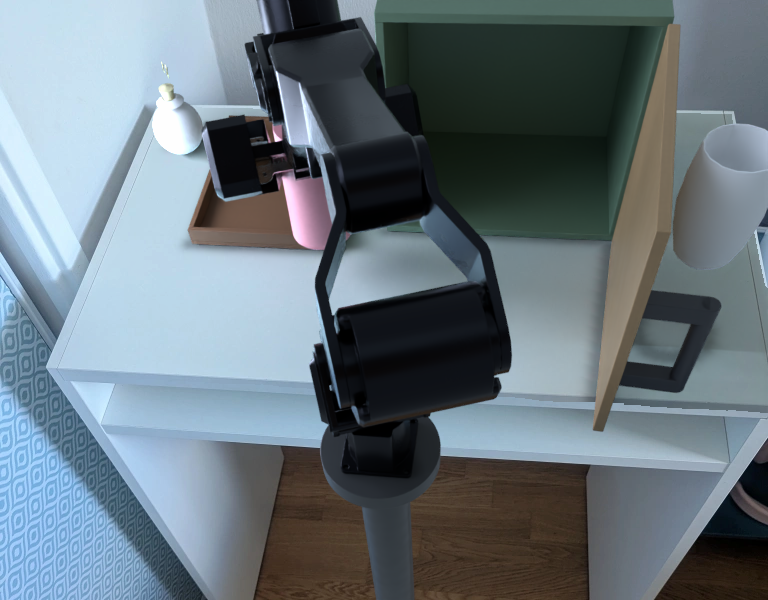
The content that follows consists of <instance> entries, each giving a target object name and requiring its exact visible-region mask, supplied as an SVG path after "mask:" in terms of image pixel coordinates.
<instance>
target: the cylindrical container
mask: <svg viewBox="0 0 768 600" xmlns="http://www.w3.org/2000/svg"><path fill="white" fill-rule="evenodd" d="M273 133H274V138H275V142H277V141H282V125H278V126H273ZM283 158H284V159H285V161H287V157H286V156H284V157H279V159H280V161H281V162H282V160H283ZM282 176H283V178H282V180H283V185H284V190H285V195H286V200H287V205H288V211H289V216H290V221H291V226H292V231H293V236H294V238H295V239H296V241H297V242H298V243H299V244H301V245H302V246H304V247H306V248H309V249H308V250H310V249H314V250H313V251H324V249H325V246H326V243H327V239H328V236H329V233H330V230H331V227H332V221H331V217H330V213H329V208H328V204H327V199H326V194H325V188H324V183H323V177H321V178H316V179H312V178H309V179H304V180H299V181H296V180H295V175H294V171H293V170H289V171H284V172H282ZM351 236H352V234H349V233H348V232H347V231H346V241H348V239H349V238H350V237H351Z"/></svg>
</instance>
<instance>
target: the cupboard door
mask: <svg viewBox="0 0 768 600" xmlns="http://www.w3.org/2000/svg"><path fill="white" fill-rule="evenodd" d="M681 27H682V25H681V24H679V23H673V24H669V25H668V28H667V32H666V36H665V39H664V43H663V47H662V51H661V55H660V59H659V62H658V66H657V70H656V74H655V78H654V82H653V85H652V89H651V93H650V97H649V101H648V105H647V108H646V112H645V116H644V120H643V124H642V128H641V131H640V135H639V139H638V143H637V147H636V151H635V154H634V158H633V162H632V166H631V170H630V174H629V177H628V181H627V185H626V189H625V193H624V197H623V200H622V204H621V208H620V212H619V216H618V220H617V223H616V227H615V231H614V235H613V239H612V241H611V242H610V249H609V250H610V251H609V261H608V271H607V281H606V291H605V301H604V311H603V319H602V320H603V322H602V332H601V339H600V340H601V342H600V350H599V351H600V352H599V362H598V371H597V372H598V373H597V382H596V391H595V402H594V412H593V421H592V431H594V432H600V433H603V432H604V431H605V427H606V425H607V423H608V418H609V416H610V412H611V410H612V408H613V404H614V402H615V399H616V395H617V393H618V390H619V387H626V388H634V389H642V390H650V391H658V392H663V393H664V392H665V393H673V394H679V393H682V392H683V391H684V390H685V387H686V385H687V383H688V382H689V381H688V380H689V379H690V376H691V374H692V372H693V370H694V368H695V366H696V363H697V361H698V359H699V357H700V355H701V353H702V350H703V348H704V346H705V344H706V342H707V340H708V337H709V335H710V333H711V331H712V328H713V326H714V324H715V322H716V320H717V319H718V316H719V314H720V311H721V309H722V302H721V301H720V300H719V298H716V297H713V296H708V295H700V294H699V295H698V294H689V293H683V292H682V293H681V292H673V291H664V290H653V287H654V284H655V281H656V278H657V275H658V273H659V269H660V266H661V264H662V260H663V258H664V255H665V251H666V249H667V246H668V243H669V240H670V237H671V234H672V224H673V200H674V175H675V158H676V157H675V156H676V137H677V134H676V133H677V114H678V113H677V112H678V91H679V90H678V89H679V70H680V69H679V68H680V49H681V48H680V47H681ZM642 319H644V320H653V321H660V322H669V323H677V324H679V323H680V324H686V325H689V327H688V330H687V332H686V334H685V337H684V339H683V342H682V344H681V346H680V349H679V350H678V353H677V356H676V358H675V361H674V363H673V365H672V366H669V365H662V364H661V365H660V364H655V363H654V364H653V363H652V364H651V363H645V362H639V361H638V362H637V361H629V357H630V354H631V351H632V348H633V345H634V343H635V339H636V337H637V334H638V330H639V329H640V325H641V322H642Z"/></svg>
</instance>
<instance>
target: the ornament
mask: <svg viewBox="0 0 768 600" xmlns="http://www.w3.org/2000/svg"><path fill="white" fill-rule="evenodd" d="M160 62H161V66H162V71H163V73H165V74H166V75H167V78H170V77H169V71H168V68H169V67H168V66H167V65H166V64H165V63H163V62H162V61H160ZM157 89H158V91H159V93H160V95H161V96H159V98H157V100H156V106H157V109H156V110H155V112H154V114H153V117H152V129H153V133H154V137H155V139H156V140H157V142H158V143H159V144H160V146H161V147H163V149H164V150H167V151H168V152H169V153H172V154H174V155H187V154H190V153H193V151H195V150H196V149H197V148H198V147H199V146H200V144H201V143H202V141H203V137H202V132H201V130H202V128H203V126H204V123H203V119H202V117H201V115H200V114H199V112H198V110H197V109H196V108H195V107H194V106H193V105H191V104H190V103H188V102H186V101H185V98H184V96H183V95H182V94H181V93H176V92H175V87H174V85H173V83H171V82H166V83H161V84H160V85H159V86H158V88H157Z"/></svg>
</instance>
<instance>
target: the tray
mask: <svg viewBox="0 0 768 600" xmlns="http://www.w3.org/2000/svg"><path fill="white" fill-rule="evenodd" d="M234 116H235V115H234V114H233V115H231V114H230V115H228V117H234ZM245 119H246V122H250V121H255V120H260V119H264V122H265V126H266V129H267V132H268V135H269V139H270V142H275V138H274V133H273V123H272V122H269V118H268V115H267V116H265V115H245ZM187 233H188V236H189V239H190V242H191V244H192V245H205V246H226V247H227V246H228V247H229V246H230V247H249V248H271V249H291V250H313V251H315V250H314V249H309V248H306V247H304V246H302V245H301V244H299V243H298V242H297V241H296V239H295V238H294V236H293V231H292V226H291V221H290V216H289V211H288V205H287V200H286V195H285V190H284V185H283V180H282V182H281V185H280V190H279V191H277V192H272V193H267V194H262V195H257V196H252V197H247V198H242V199H237V200H232V201H227V202H225V201H224V200H223V199H221V198H220V197H218V195H217V194H216V190H215V187H214V183H213V179H212V175H211V171H210V168H209V170H208V172H207V175H206V178H205V181H204V183H203V186H202V189H201V191H200V195H199V198H198V200H197V203H196V206H195V208H194V211H193V213H192V217H191V219H190V222H189V224H188V228H187Z"/></svg>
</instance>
